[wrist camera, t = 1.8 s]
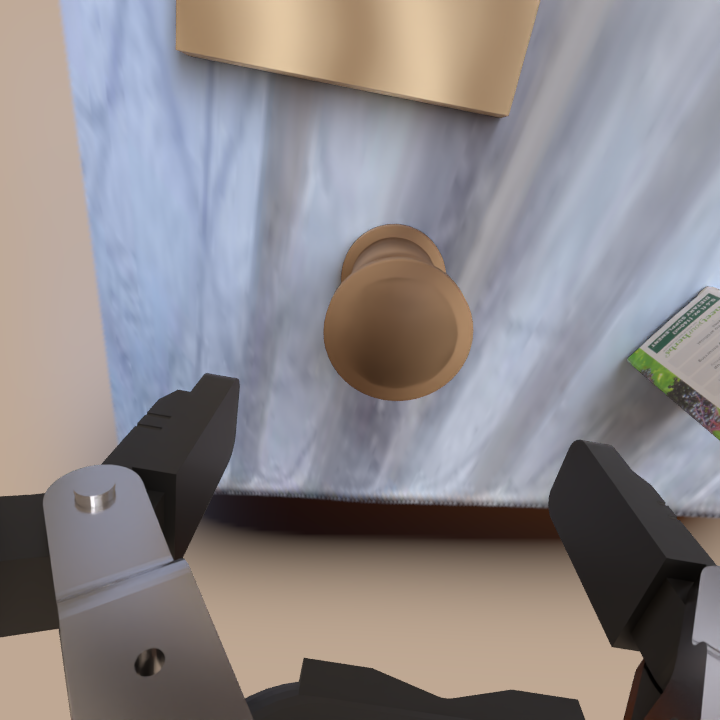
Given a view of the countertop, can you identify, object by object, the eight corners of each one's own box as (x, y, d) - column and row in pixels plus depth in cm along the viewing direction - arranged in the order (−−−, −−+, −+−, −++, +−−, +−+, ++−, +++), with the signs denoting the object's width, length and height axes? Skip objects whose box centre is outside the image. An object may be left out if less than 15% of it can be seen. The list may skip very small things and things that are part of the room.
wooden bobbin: (455, 234, 25) (491, 277, 16) (430, 331, 27) (451, 411, 19) (351, 215, 25) (335, 248, 16) (335, 314, 27) (314, 387, 19)
